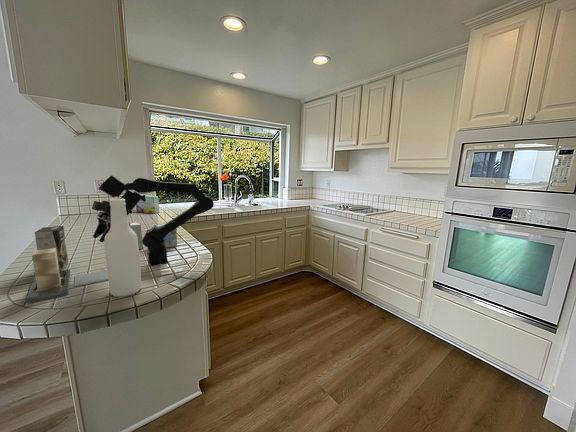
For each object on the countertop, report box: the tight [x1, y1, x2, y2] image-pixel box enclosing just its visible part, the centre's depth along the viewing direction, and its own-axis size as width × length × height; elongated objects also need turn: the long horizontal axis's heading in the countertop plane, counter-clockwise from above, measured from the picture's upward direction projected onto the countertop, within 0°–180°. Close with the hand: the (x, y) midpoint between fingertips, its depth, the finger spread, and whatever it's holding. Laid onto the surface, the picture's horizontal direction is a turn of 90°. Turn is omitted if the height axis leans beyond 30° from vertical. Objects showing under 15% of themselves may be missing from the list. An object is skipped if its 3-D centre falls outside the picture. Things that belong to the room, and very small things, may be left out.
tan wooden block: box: [31, 248, 62, 292], centre depth 79 cm, size 5×5×13 cm
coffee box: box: [34, 225, 70, 271], centre depth 95 cm, size 9×6×16 cm
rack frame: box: [25, 268, 71, 304], centre depth 83 cm, size 9×20×2 cm, turn 39°
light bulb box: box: [151, 224, 178, 249], centre depth 127 cm, size 11×7×11 cm, turn 129°
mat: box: [74, 269, 108, 288], centre depth 90 cm, size 10×10×1 cm
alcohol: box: [103, 198, 143, 298], centre depth 78 cm, size 9×9×30 cm
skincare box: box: [129, 222, 144, 250], centre depth 123 cm, size 6×4×12 cm
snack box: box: [135, 194, 160, 215], centre depth 220 cm, size 21×6×15 cm, turn 72°
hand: (97, 239), depth 91 cm, fingers open, 9 cm apart
